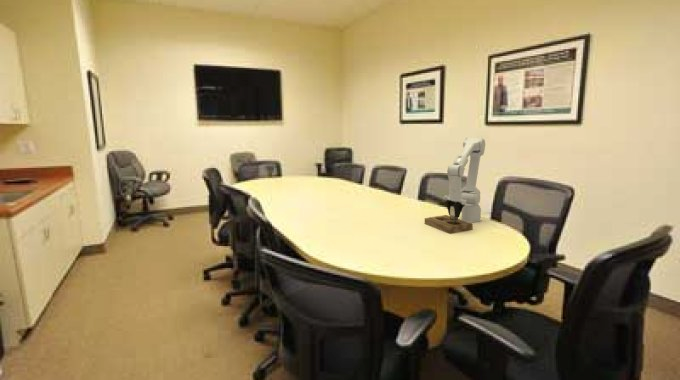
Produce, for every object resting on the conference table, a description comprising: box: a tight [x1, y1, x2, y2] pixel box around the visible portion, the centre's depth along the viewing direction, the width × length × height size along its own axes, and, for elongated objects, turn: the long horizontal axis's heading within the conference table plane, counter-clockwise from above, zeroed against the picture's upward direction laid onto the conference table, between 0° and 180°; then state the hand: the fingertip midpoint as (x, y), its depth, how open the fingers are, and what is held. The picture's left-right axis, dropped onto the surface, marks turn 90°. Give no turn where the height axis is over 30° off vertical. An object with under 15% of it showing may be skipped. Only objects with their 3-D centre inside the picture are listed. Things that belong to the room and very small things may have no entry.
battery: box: [449, 205, 459, 221], centre depth 186 cm, size 4×4×7 cm
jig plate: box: [424, 214, 474, 235], centre depth 191 cm, size 14×20×3 cm
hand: (454, 216), depth 186 cm, fingers closed on battery, 4 cm apart
